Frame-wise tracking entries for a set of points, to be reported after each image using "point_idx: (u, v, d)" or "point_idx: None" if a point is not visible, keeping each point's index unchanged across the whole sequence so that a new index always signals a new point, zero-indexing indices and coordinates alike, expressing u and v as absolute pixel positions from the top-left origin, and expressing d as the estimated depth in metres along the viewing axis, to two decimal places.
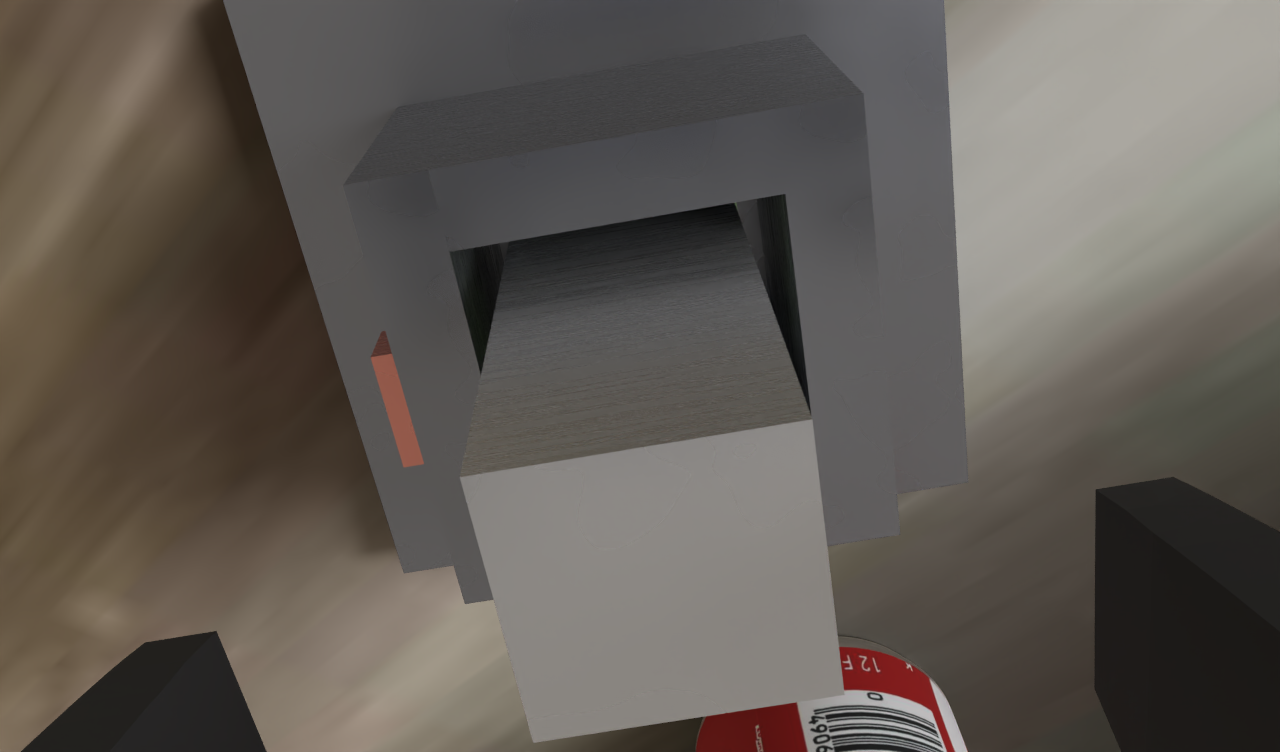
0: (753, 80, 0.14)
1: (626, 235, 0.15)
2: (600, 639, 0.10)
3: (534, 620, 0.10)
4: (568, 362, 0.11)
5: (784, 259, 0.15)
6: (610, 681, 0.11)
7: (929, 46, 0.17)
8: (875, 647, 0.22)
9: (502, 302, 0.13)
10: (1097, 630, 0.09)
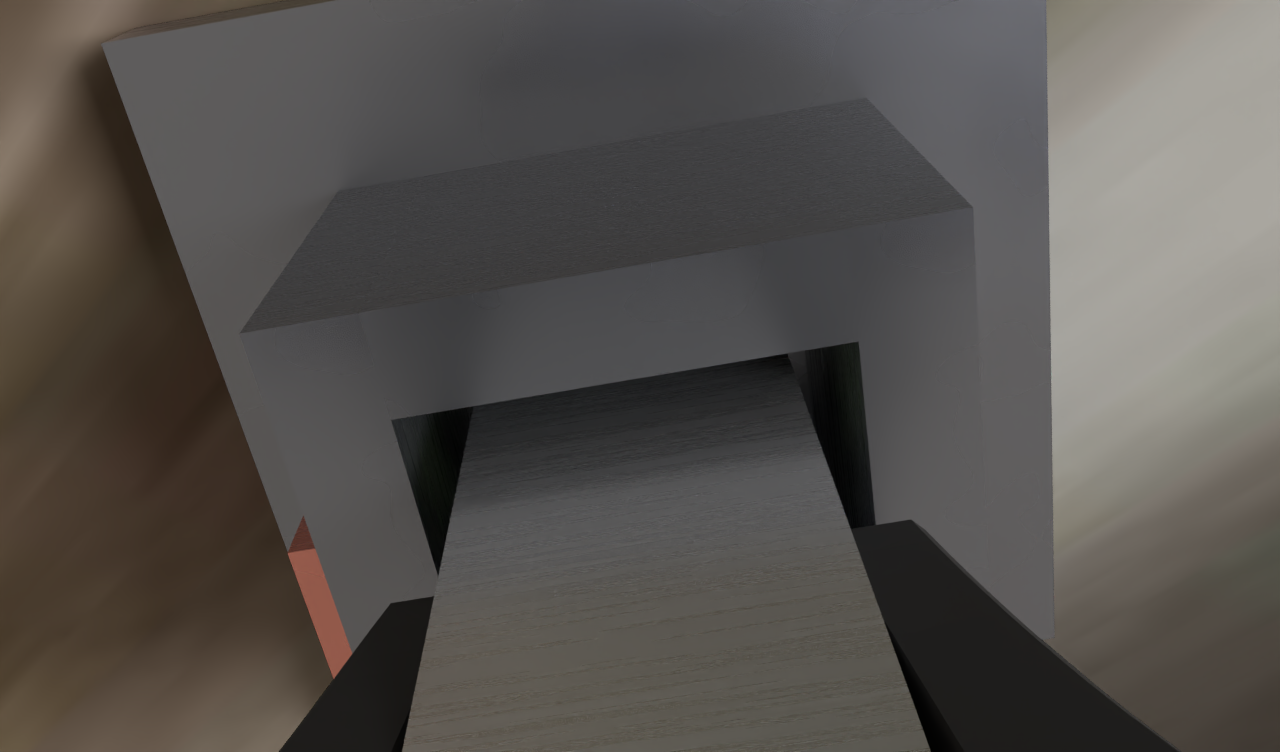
0: (807, 173, 0.11)
1: (635, 381, 0.11)
2: None
3: None
4: (554, 630, 0.08)
5: (847, 410, 0.11)
6: None
7: (1026, 113, 0.13)
8: None
9: (463, 496, 0.09)
10: None
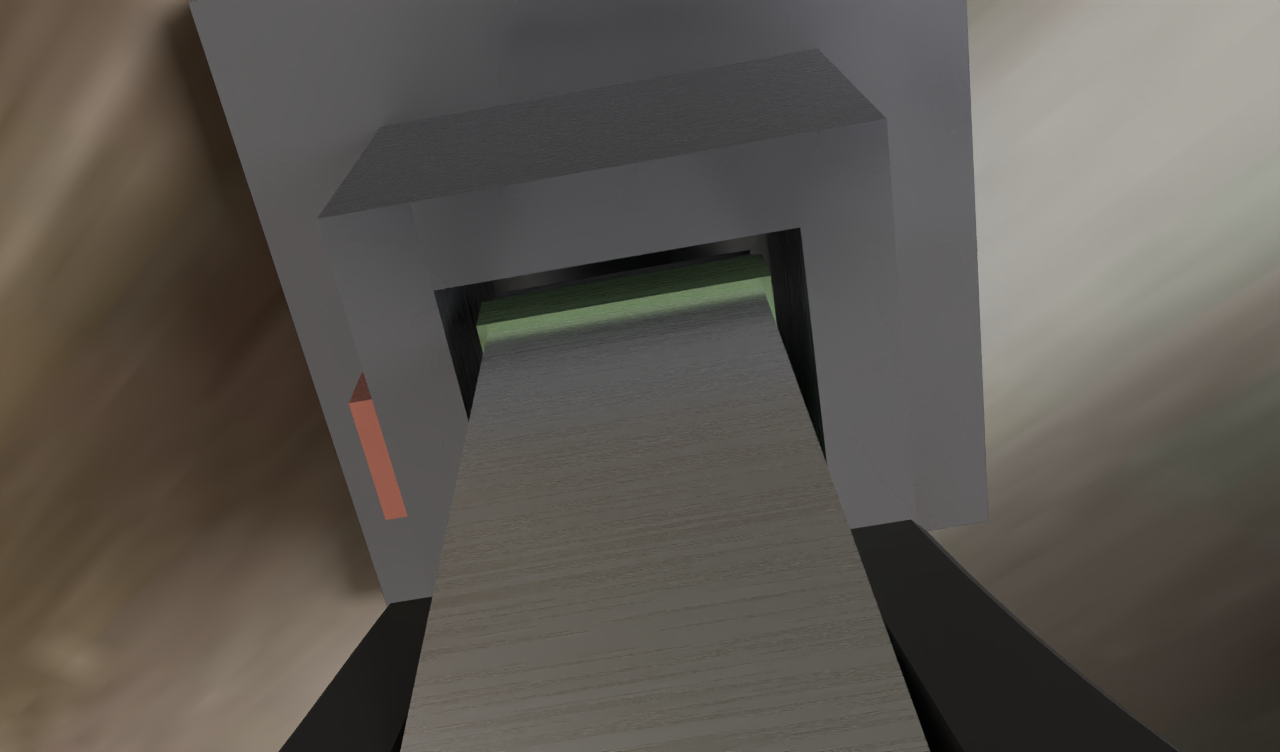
0: (764, 101, 0.13)
1: (634, 377, 0.11)
2: None
3: None
4: (551, 622, 0.08)
5: (797, 294, 0.14)
6: None
7: (951, 61, 0.16)
8: None
9: (463, 490, 0.09)
10: None
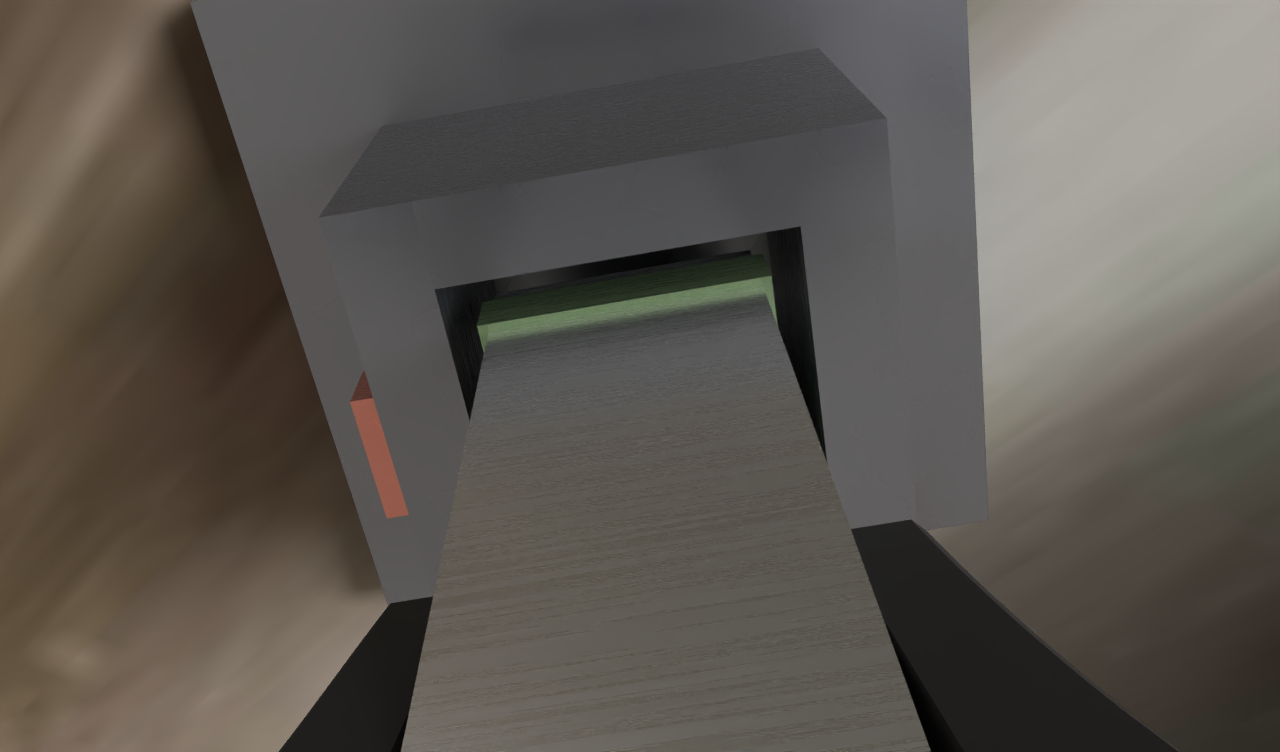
0: (764, 101, 0.13)
1: (634, 377, 0.11)
2: None
3: None
4: (553, 622, 0.08)
5: (797, 293, 0.14)
6: None
7: (951, 61, 0.16)
8: None
9: (463, 491, 0.09)
10: None
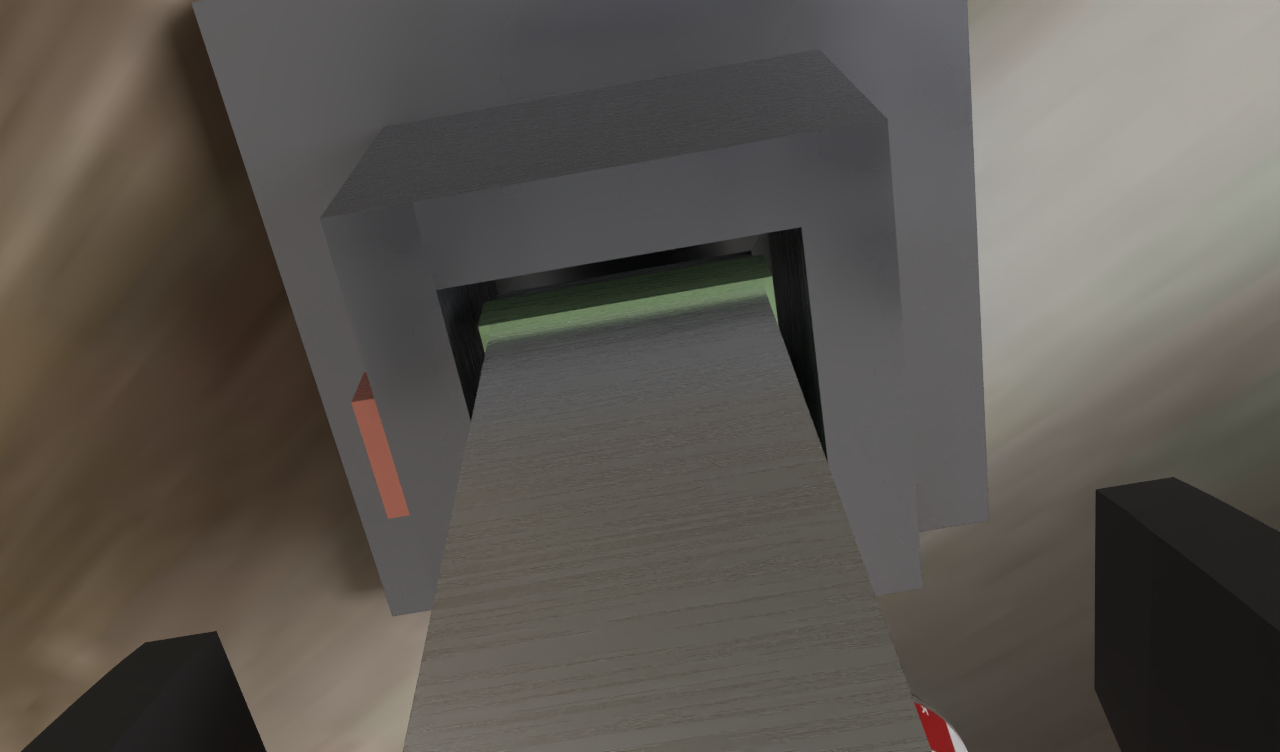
0: (765, 101, 0.13)
1: (635, 377, 0.11)
2: None
3: None
4: (555, 623, 0.08)
5: (798, 294, 0.14)
6: None
7: (951, 62, 0.16)
8: None
9: (465, 491, 0.09)
10: (1097, 630, 0.09)
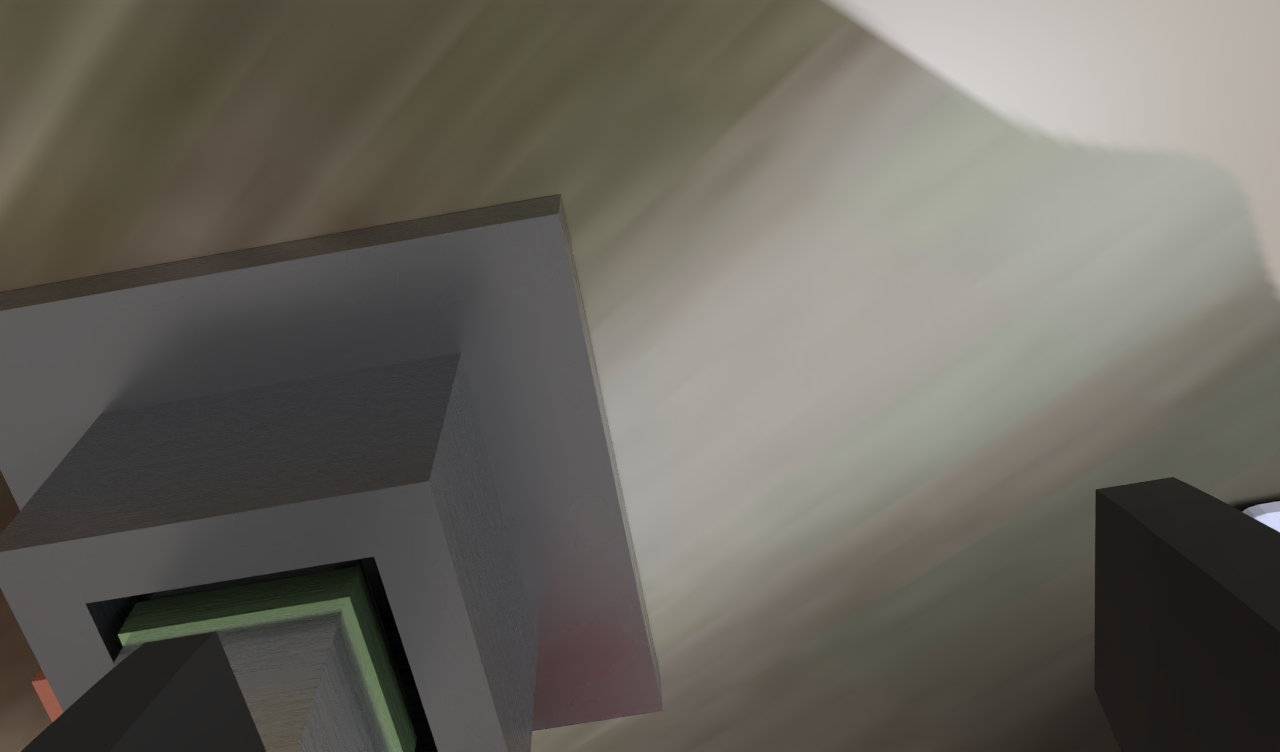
0: (371, 433, 0.16)
1: None
2: None
3: None
4: None
5: None
6: None
7: (574, 361, 0.19)
8: None
9: None
10: (1097, 630, 0.09)
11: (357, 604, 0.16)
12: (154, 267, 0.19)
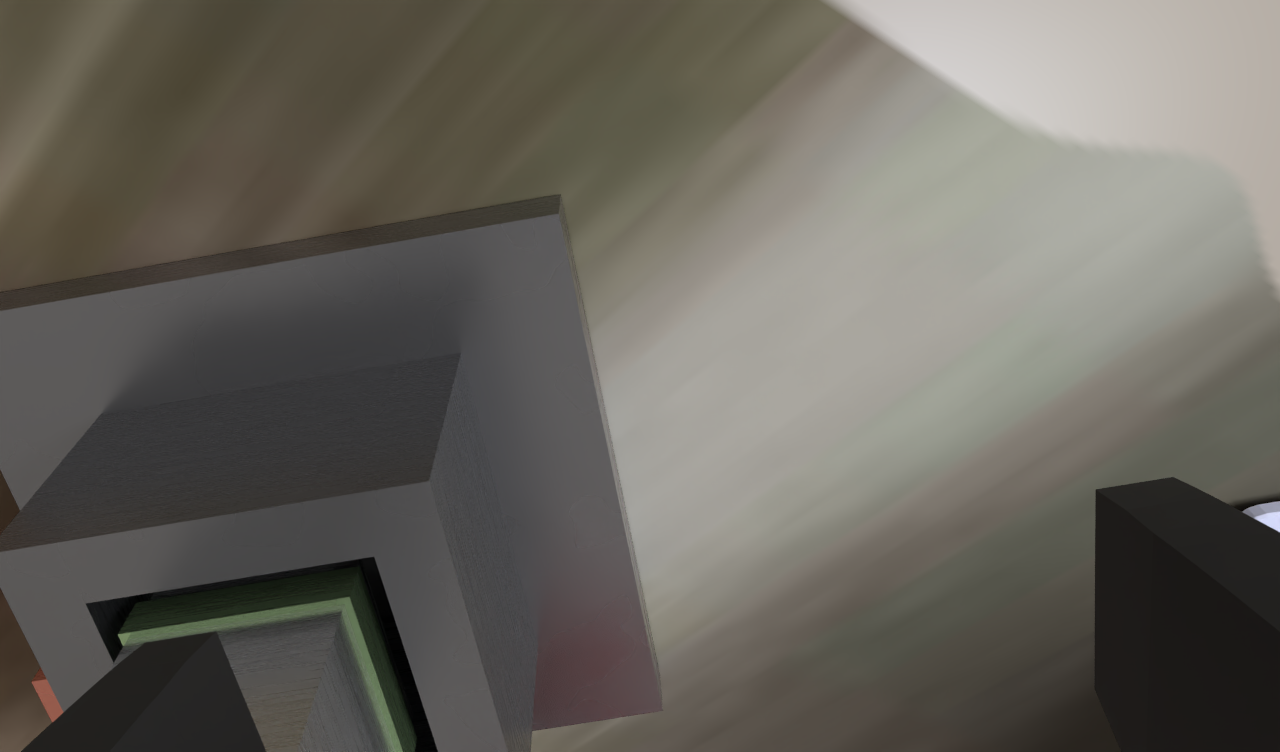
0: (372, 433, 0.16)
1: None
2: None
3: None
4: None
5: None
6: None
7: (574, 361, 0.19)
8: None
9: None
10: (1097, 630, 0.09)
11: (357, 604, 0.16)
12: (154, 267, 0.19)
